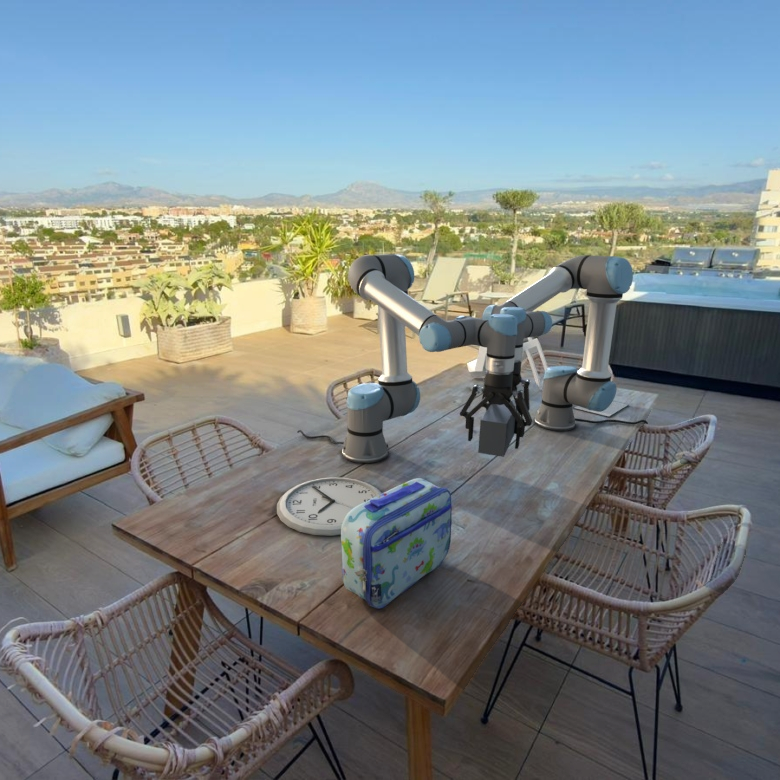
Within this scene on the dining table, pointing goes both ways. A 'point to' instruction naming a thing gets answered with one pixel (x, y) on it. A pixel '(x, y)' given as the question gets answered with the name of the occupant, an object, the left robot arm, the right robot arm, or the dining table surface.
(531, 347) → the white plastic object
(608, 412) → the invitation card
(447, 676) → the dining table surface
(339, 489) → the wall clock
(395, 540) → the lunch box
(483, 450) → the box
